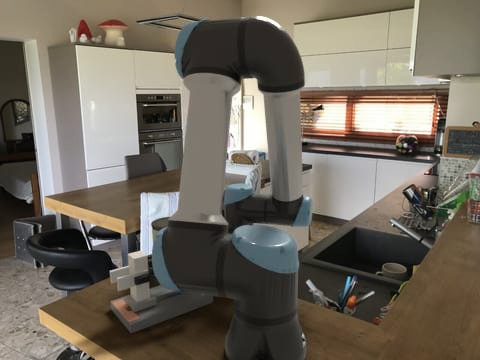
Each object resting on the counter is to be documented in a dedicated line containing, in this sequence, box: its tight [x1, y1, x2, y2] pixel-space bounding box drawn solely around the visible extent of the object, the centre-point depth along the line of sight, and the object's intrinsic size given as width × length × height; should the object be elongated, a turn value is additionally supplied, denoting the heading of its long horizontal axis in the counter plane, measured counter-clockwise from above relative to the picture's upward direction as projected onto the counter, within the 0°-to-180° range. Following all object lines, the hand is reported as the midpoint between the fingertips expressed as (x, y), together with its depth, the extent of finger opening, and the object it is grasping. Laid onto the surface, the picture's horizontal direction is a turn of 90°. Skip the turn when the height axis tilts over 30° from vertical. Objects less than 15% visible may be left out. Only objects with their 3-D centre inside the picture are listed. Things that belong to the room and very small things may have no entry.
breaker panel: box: [109, 285, 214, 334], centre depth 90 cm, size 12×20×2 cm, turn 127°
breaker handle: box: [124, 250, 156, 312], centre depth 85 cm, size 5×5×12 cm
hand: (114, 280), depth 82 cm, fingers closed on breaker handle, 3 cm apart
